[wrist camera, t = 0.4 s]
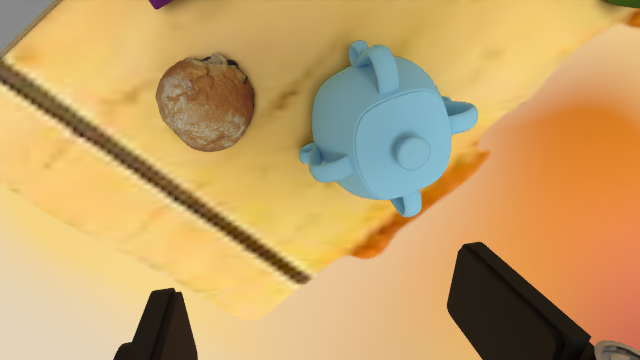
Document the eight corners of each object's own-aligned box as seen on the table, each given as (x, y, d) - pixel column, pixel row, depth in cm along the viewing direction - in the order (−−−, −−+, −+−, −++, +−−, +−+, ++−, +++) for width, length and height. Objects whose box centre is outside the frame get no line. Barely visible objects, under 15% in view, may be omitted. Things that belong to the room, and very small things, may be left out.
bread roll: (161, 83, 37) (120, 116, 31) (211, 25, 32) (174, 50, 26) (225, 140, 41) (200, 179, 35) (279, 97, 36) (260, 133, 30)
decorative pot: (445, 102, 42) (527, 126, 30) (374, 197, 45) (421, 252, 33) (353, 25, 35) (408, 14, 23) (279, 141, 39) (294, 185, 27)
